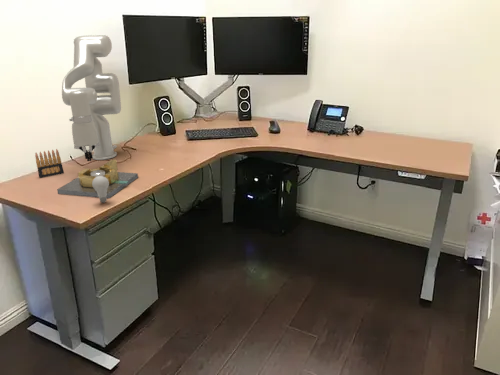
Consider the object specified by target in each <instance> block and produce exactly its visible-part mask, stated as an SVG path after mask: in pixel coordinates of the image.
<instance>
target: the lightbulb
mask: <svg viewBox="0 0 500 375" xmlns="http://www.w3.org/2000/svg"><path fill="white" fill-rule="evenodd" d="M92 186H93V188H94V189H95V190H96V192H97V193H98V197H97V198H99V201H100V202H101V203H106V202H107V200H108V198H106V196H107V189H108V186H109V181H108V179H107V178H105V177H104V176H97V177H96V178H94V180H93V182H92Z"/></svg>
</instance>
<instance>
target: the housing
mask: <svg viewBox="0 0 500 375" xmlns="http://www.w3.org/2000/svg"><path fill="white" fill-rule="evenodd" d="M117 172H118V180H117V181H115V182H114V183H112V184H110V185H109V186H108V189H107V196H106V198H107V199H111V198H112V197H114V195H116V194H117V193H119V192H121V191H122V190H124V188H126V187H127V186H128V185H129V184H131V183H133V182H134V181H136V180H137V179H138V178H139V173H137V172H135V173H134V172H125V171H124V172H123V171H117ZM90 174H91V176H96V177H97V176H104V177H105V171H104V170H96V171H92V172H91V173H90ZM56 191H57V194H58V195H69V196H78V197H91V198H99V197H98V193H97V192H96V190H95V189H94V188H93V187H83V186H81V184H80V183H79V178H78V177H76V178H75V179H73V180H71V181H69V182H68V183H66V184H64V185H62V186H61V187H59V188H57V190H56Z"/></svg>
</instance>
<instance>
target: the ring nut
mask: <svg viewBox="0 0 500 375" xmlns="http://www.w3.org/2000/svg"><path fill="white" fill-rule="evenodd" d="M96 170H104V171H105V178H107V179H108V181H109V185H110V184H112V183H114V182H115V181H117V180H118V172H119V171H118V170H119V169H118V161H117V159H113V158H111V160H109V161H107V162H106V163H103V165H101V166H99V167H97V168H92V169H91V168H84V169H82V170H80V171H78V173H77V174H78V175H77V178H79V183H80V184H81V186H83V187H93V186H92V182H93V180H94V178H96V176H91V174H90V173H91V172H92V171H96Z"/></svg>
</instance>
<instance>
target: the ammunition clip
mask: <svg viewBox="0 0 500 375" xmlns="http://www.w3.org/2000/svg"><path fill="white" fill-rule="evenodd" d="M34 154H35V155H34V156H35V157H34V158H35V162H36V167H37V168H36V169H37V172H38V173H37V174H38V178H39V179H42V178H47V177H52V176H59V175H63V174H65V172H64V167H63V163H62V159H61V155H60V152H59V150H58V148H56V149H55V150H54V149H52V150H51V152H50V150H47V153H46V151H45V150H44V151H43V154H42V152H41V151H39V154H38V153H37V152H35V153H34Z"/></svg>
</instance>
